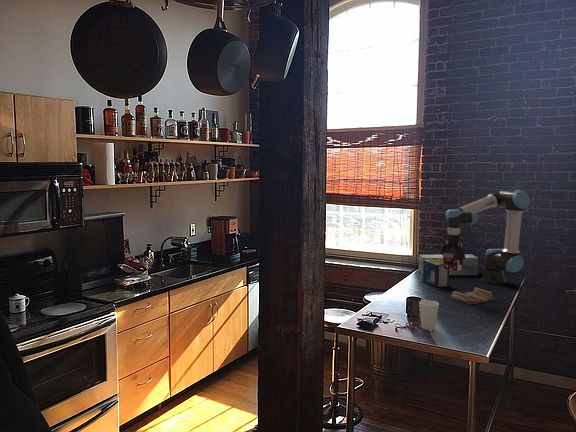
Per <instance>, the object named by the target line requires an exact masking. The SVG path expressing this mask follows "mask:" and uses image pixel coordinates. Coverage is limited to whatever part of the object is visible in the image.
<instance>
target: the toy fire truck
mask: <svg viewBox="0 0 576 432" xmlns="http://www.w3.org/2000/svg"><path fill="white" fill-rule="evenodd" d="M443 257H444V261H443V265H444V268H445V269H449V268H451V267H452V269H453V270H455V271H456V270H457V268H458V259H459V258H458V256H457V254H456V253H453V252H449V253H447V252H444V253H443ZM455 258H456V259H455ZM454 259H455V260H454ZM453 262H454V264H453ZM462 267H463V262H462Z"/></svg>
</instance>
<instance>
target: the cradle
mask: <svg viewBox="0 0 576 432" xmlns="http://www.w3.org/2000/svg"><path fill="white" fill-rule="evenodd" d="M492 294H493V293H492V291H489V290H485V289H482V288H478V287H474V288H473V290H472V291H468V292H459V291H456V290H454V291H452V294H450V295H449V299H453V300H456V301H458V302H461V303H464V304H467V305H476V304H482V303H488V302H493V301H495V297H493V295H492Z"/></svg>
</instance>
